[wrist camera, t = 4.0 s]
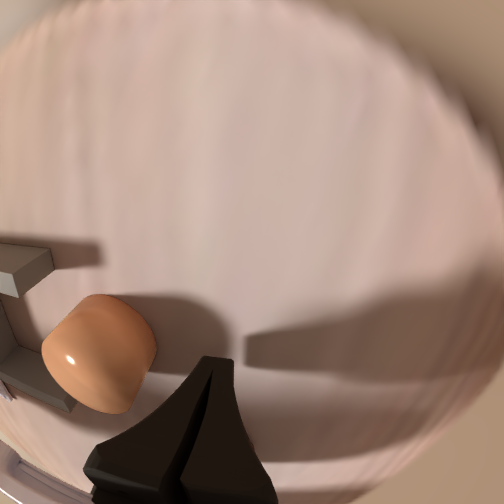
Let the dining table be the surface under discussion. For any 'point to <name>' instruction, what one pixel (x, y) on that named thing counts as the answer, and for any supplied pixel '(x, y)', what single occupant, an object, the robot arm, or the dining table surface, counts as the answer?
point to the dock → (3, 341)
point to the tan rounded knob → (101, 353)
